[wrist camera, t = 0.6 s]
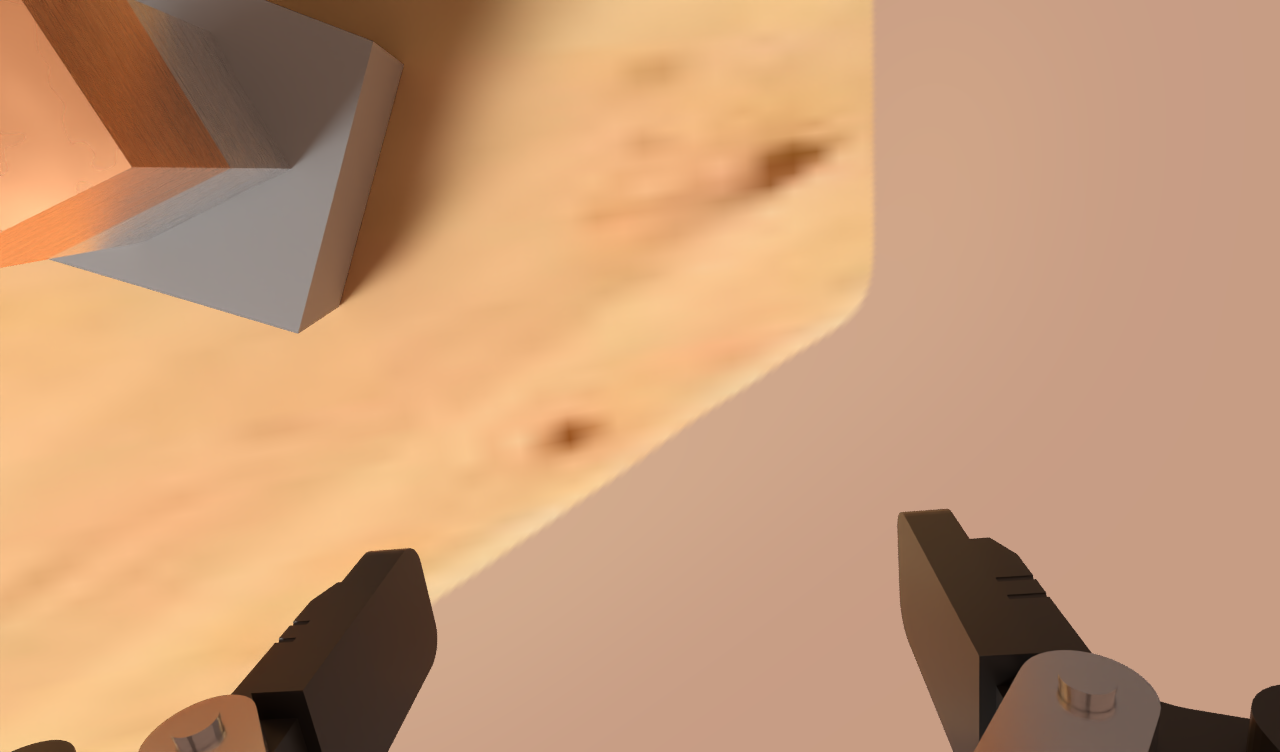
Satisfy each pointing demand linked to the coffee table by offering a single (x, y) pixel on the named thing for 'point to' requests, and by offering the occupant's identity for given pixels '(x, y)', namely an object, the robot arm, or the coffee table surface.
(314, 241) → the stand
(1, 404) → the coffee table surface
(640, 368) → the coffee table surface
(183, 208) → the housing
